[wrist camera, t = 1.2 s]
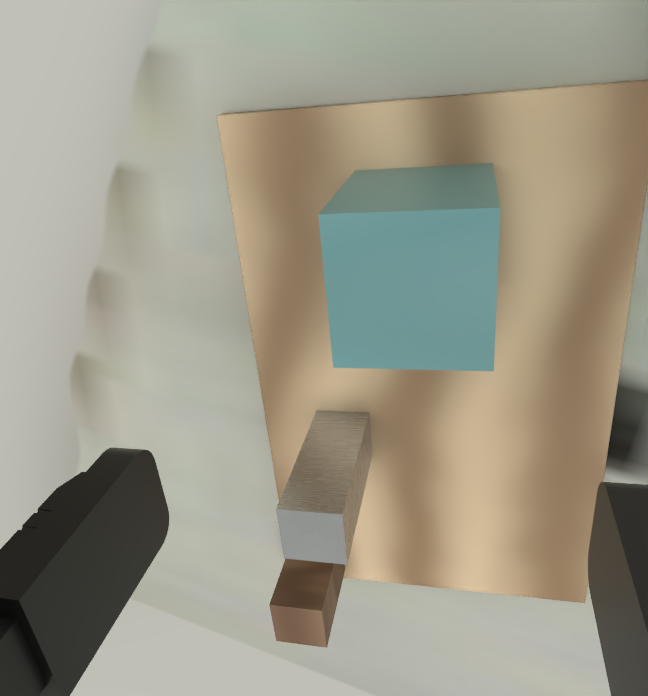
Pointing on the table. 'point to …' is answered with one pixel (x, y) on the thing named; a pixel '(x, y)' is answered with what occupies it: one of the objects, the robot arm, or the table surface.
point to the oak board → (510, 335)
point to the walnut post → (306, 601)
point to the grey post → (326, 488)
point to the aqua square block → (413, 268)
